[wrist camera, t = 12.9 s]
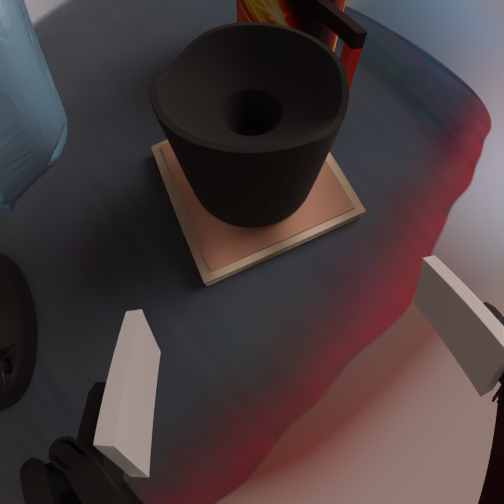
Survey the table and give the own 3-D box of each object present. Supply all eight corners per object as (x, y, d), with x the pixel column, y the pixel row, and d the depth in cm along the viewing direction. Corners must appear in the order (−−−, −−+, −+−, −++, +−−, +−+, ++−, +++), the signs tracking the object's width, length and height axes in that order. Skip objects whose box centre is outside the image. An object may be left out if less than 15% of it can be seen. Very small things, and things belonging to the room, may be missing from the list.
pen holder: (339, 206, 22) (390, 119, 12) (214, 257, 21) (181, 188, 11) (282, 111, 24) (292, 11, 14) (172, 149, 23) (135, 53, 13)
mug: (334, 122, 25) (370, 13, 14) (219, 58, 28) (209, -39, 16) (379, 76, 27) (414, -11, 16) (276, 23, 30) (280, -60, 18)
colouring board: (206, 286, 22) (203, 283, 20) (155, 154, 25) (150, 145, 23) (360, 217, 23) (366, 210, 22) (288, 104, 26) (290, 94, 24)
